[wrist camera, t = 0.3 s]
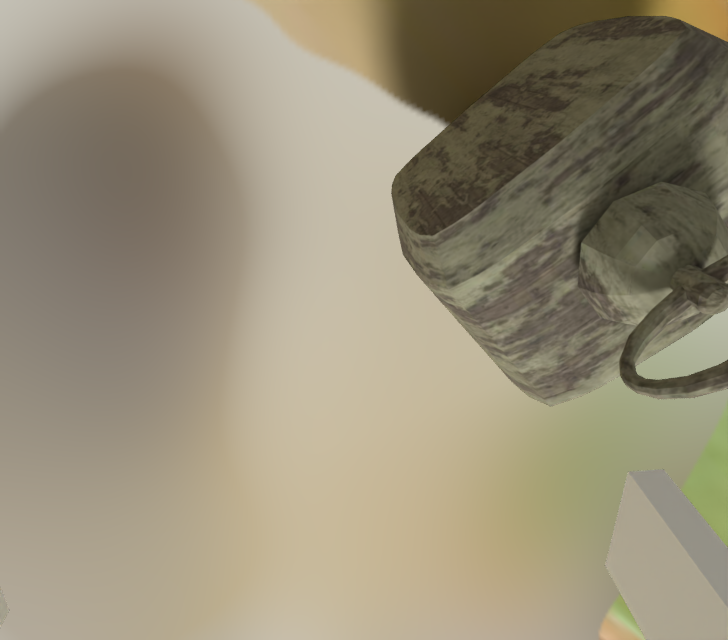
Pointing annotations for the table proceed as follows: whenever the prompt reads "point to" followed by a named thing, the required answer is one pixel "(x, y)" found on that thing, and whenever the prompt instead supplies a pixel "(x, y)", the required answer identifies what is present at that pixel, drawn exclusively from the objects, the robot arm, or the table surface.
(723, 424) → the table surface
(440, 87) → the table surface
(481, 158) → the tabletop clock
